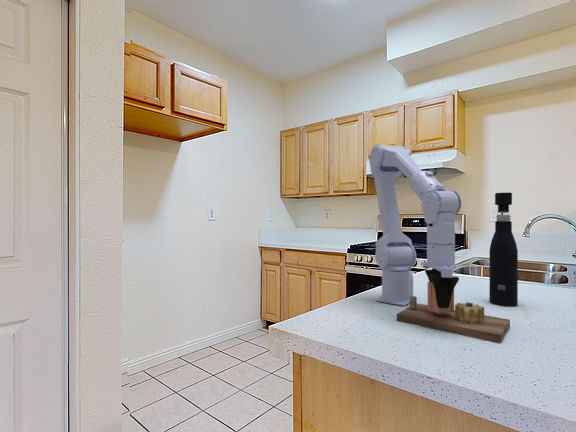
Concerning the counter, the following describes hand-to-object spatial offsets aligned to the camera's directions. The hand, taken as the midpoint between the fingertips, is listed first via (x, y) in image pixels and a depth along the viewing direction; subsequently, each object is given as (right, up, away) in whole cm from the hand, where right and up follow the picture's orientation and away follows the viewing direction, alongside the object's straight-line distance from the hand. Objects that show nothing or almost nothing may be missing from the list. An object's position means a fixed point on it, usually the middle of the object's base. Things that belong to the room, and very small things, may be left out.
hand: (440, 303), depth 74 cm
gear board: (+2, -4, -2) cm, 5 cm away
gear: (0, -1, 0) cm, 1 cm away
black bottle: (+24, -4, +15) cm, 29 cm away
